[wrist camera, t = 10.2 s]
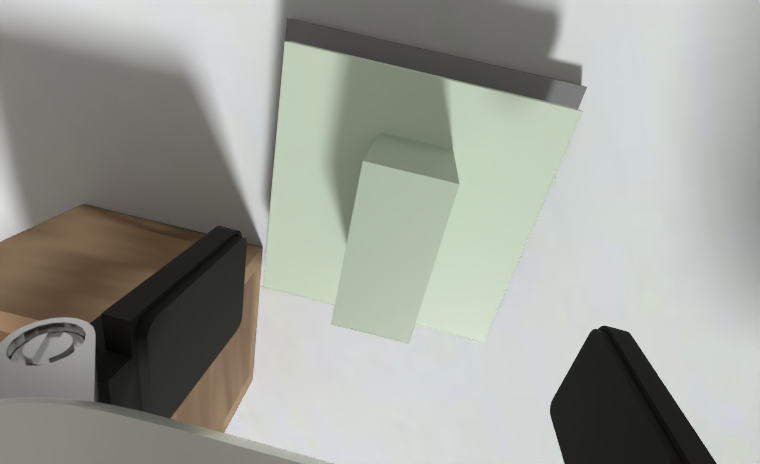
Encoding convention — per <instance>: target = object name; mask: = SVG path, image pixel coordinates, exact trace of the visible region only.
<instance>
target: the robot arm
mask: <svg viewBox="0 0 760 464" xmlns="http://www.w3.org/2000/svg"><path fill="white" fill-rule="evenodd" d="M246 251H247V240H246V238H243V237H242V235H241V232H240V231H237V230H233V229H230V228H226V227H222V226H217V227H216V228H214V229H213V230H212V231H210V232H209V233H208V234H206V235H205V236H204V237H202V238H201V239H200V240H198V241H197V242H196V243H194V244H193V245H192V246H190V247H189V248H188V249H186V250H185V251H184V252H182V253H181V254H180V255H178V256H177V257H176V258H174V259H173V260H172V261H170V262H169V263H168V264H166V265H165V266H164V267H162V268H161V269H160V270H158V271H157V272H156V273H154V274H153V275H152V276H150V277H149V278H148V279H146V280H145V281H144V282H142V283H141V284H140V285H138V286H137V287H136V288H134V289H133V290H132V291H130V292H129V293H128V294H126V295H125V296H124V297H122V298H121V299H120V300H118V301H117V302H116V303H114V304H113V305H112V306H110V307H109V308H108V309H106V310H105V311H104V312H102V313H101V315H100V316H99V317H97V318H96V319H95V320H93V321H92V322H91V323H88V322H86V321H84V320H81V319H78V318H68V317H62V318H50V319H46V320H42V321H37V322H34V323H32V324H29V325H26V326H24V327H21V328H20V329H18V330H16V331H14V332H13V333H11V334H9V335H8V336H7V337H6V338H5V339H4V340H3V341H1V342H0V464H333V463H329V462H326V461H322V460H319V459H315V458H312V457H308V456H304V455H301V454H297V453H294V452H290V451H287V450H283V449H280V448H276V447H272V446H269V445H265V444H262V443H258V442H255V441H251V440H247V439H244V438H240V437H237V436H233V435H230V434H226V433H222V432H219V431H215V430H212V429H208V428H204V427H200V426H196V425H192V424H189V423H185V422H181V421H177V420H173V419H170V418H171V417H172V416H173V414H174V413H175V412H176V411H177V409H178V408H179V407H180V405H181V404H182V403H183V401H184V400H185V399H186V397H187V396H188V395H189V393H190V392H191V391H192V389H193V388H194V387H195V385H196V384H197V383H198V381H199V380H200V379H201V377H202V376H203V375H204V374H205V372H206V371H207V370H208V368H209V367H210V366H211V364H212V363H213V362H214V360H215V359H216V358H217V356H218V355H219V354H220V352H221V351H222V350H223V348H224V347H225V346H226V344H227V343H228V342H229V340H230V339H231V338H232V337H233V335H234V334H235V333H236V331H237V330H238V328H239V326H240V324H241V321H242V314H243V298H244V282H245V266H246ZM550 415H551V419H552V422H553V425H554V429H555V432H556V436H557V439H558V443H559V446H560V449H561V453H562V456H563V460H564V463H565V464H716V462H715V461H714V459H713V458H712V456H711V455H710V453H709V452H708V450H707V448H706V447H705V445H704V444H703V442H702V441H701V439H700V438H699V436H698V435H697V433H696V432H695V430H694V429H693V427H692V426H691V424H690V423H689V421H688V420H687V418H686V417H685V415H684V414H683V412H682V411H681V409H680V408H679V406H678V405H677V403H676V402H675V400H674V399H673V397H672V396H671V394H670V393H669V391H668V390H667V388H666V387H665V385H664V384H663V382H662V381H661V379H660V378H659V376H658V375H657V373H656V372H655V370H654V369H653V367H652V366H651V364H650V363H649V361H648V360H647V358H646V357H645V355H644V354H643V352H642V351H641V349H640V348H639V346H638V345H637V343H636V342H635V340H634V339H633V337H632V336H631V334H630V333H629V332H627V331H623V330H620V329H616V328H612V327H608V326H601V327H600V328H599V329H598V330H597V329H594V330H592V331H591V332H590V334H589V336H588V337H587V339H586V341H585V343H584V345H583V346H582V348H581V350H580V352H579V353H578V355H577V357H576V359H575V361H574V362H573V364H572V366H571V368H570V369H569V371H568V373H567V375H566V377H565V378H564V380H563V382H562V384H561V386H560V387H559V389H558V391H557V393H556V394H555V396H554V398H553V400H552V402H551V406H550Z"/></svg>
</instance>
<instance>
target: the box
mask: <svg viewBox="0 0 760 464" xmlns="http://www.w3.org/2000/svg"><path fill="white" fill-rule="evenodd" d="M205 235H206V234H204V233H200V232H196V231H192V230H188V229H184V228H180V227H175V226H171V225H167V224H163V223H159V222H155V221H150V220H146V219H142V218H138V217H134V216H130V215H126V214H121V213H117V212H113V211H109V210H105V209H101V208H97V207H92V206H88V205H84V204H82V205H80V206H78V207H76V208H73V209H71V210H69V211H67V212H65V213H63V214H60V215H58V216H56V217H54V218H52V219H49V220H47V221H45V222H43V223H41V224H38V225H36V226H34V227H32V228H30V229H28V230H25V231H23V232H21V233H19V234H17V235H14V236H12V237H10V238H8V239H6V240H3V241H1V242H0V342H1V341H3V340H4V339H5V338H6V337H7V336H8V335H9V334H11V333H13V332H14V331H16V330H18V329H20V328H21V327H24V326H26V325H29V324H32V323H34V322H37V321H42V320H46V319H50V318H62V317H68V318H78V319H81V320H84V321H86V322H88V323H91V322H92V321H93V320H95V319H96V318H97V317H99V316H100V315H101V313H102V312H104V311H105V310H106V309H108V308H109V307H110V306H112V305H113V304H114V303H116V302H117V301H118V300H120V299H121V298H122V297H124V296H125V295H126V294H128V293H129V292H130V291H132V290H133V289H134V288H136V287H137V286H138V285H140V284H141V283H142V282H144V281H145V280H146V279H148V278H149V277H150V276H152V275H153V274H154V273H156V272H157V271H158V270H160V269H161V268H162V267H164V266H165V265H166V264H168V263H169V262H170V261H172V260H173V259H174V258H176V257H177V256H178V255H180V254H181V253H182V252H184V251H185V250H186V249H188V248H189V247H190V246H192V245H193V244H194V243H196V242H197V241H198V240H200V239H201V238H202V237H204V236H205ZM262 249H263V247H258V246H254V245H250V244H247V251H246V266H245V282H244V298H243V314H242V321H241V324H240V326H239V328H238V330H237V331H236V333H235V334H234V335H233V337H232V338H231V339H230V340H229V342H228V343H227V344H226V346H225V347H224V348H223V350H222V351H221V352H220V354H219V355H218V356H217V358H216V359H215V360H214V362H213V363H212V364H211V366H210V367H209V368H208V370H207V371H206V372H205V374H204V375H203V376H202V377H201V379H200V380H199V381H198V383H197V384H196V385H195V387H194V388H193V389H192V391H191V392H190V393H189V395H188V396H187V397H186V399H185V400H184V401H183V403H182V404H181V405H180V407H179V408H178V409H177V411H176V412H175V413H174V414H173V416H172V417H171V418H170V419H173V420H177V421H181V422H185V423H189V424H192V425H196V426H200V427H204V428H208V429H212V430H215V431H219V432H222V433H224V432H225V430H226V428H227V426H228V424H229V423H230V421H231V419H232V417H233V415H234V413H235V411H236V410H237V408H238V406H239V404H240V402H241V400H242V398H243V397H244V395H245V393H246V391H247V389H248V387H249V385H250V383H251V382H252V379H253V366H254V353H255V340H256V327H257V314H258V301H259V288H260V275H261V262H262Z"/></svg>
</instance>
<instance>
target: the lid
mask: <svg viewBox="0 0 760 464" xmlns="http://www.w3.org/2000/svg"><path fill="white" fill-rule="evenodd" d="M582 113H583V111H580V110H578V109H576V108H572V107H568V106H564V105H559V104H555V103H551V102H547V101H542V100H538V99H534V98H530V97H525V96H521V95H517V94H513V93H509V92H504V91H500V90H496V89H492V88H487V87H483V86H479V85H475V84H470V83H466V82H462V81H458V80H453V79H449V78H445V77H441V76H437V75H432V74H428V73H424V72H420V71H415V70H411V69H407V68H403V67H398V66H394V65H390V64H386V63H381V62H377V61H373V60H369V59H365V58H360V57H356V56H352V55H348V54H343V53H339V52H335V51H331V50H326V49H322V48H318V47H314V46H309V45H305V44H301V43H297V42H293V41H285V44H284V55H283V66H282V78H281V89H280V100H279V112H278V123H277V134H276V145H275V157H274V168H273V179H272V191H271V202H270V213H269V225H268V236H267V247H266V258H265V270H264V281H263V287H264V288H268V289H272V290H276V291H280V292H284V293H288V294H292V295H296V296H300V297H304V298H308V299H312V300H316V301H320V302H324V303H328V304H332V305H335V306H334V312H333V317H332V322H331V324H332V325H336V326H340V327H344V328H348V329H352V330H356V331H360V332H364V333H368V334H372V335H376V336H380V337H384V338H388V339H392V340H396V341H400V342H404V343H408V344H409V342H410V339H411V336H412V332H413V329H414V326H415V325H417V326H421V327H425V328H429V329H433V330H437V331H441V332H445V333H449V334H453V335H457V336H461V337H465V338H469V339H473V340H478V341H482V342H484V340H485V338H486V335H487V333H488V331H489V328H490V326H491V324H492V321H493V319H494V317H495V314H496V312H497V310H498V307H499V305H500V303H501V301H502V298H503V296H504V294H505V291H506V289H507V287H508V284H509V282H510V280H511V277H512V275H513V273H514V270H515V268H516V266H517V263H518V261H519V259H520V257H521V254H522V252H523V250H524V247H525V245H526V243H527V240H528V238H529V236H530V233H531V231H532V229H533V226H534V224H535V222H536V219H537V217H538V215H539V213H540V210H541V208H542V206H543V203H544V201H545V199H546V196H547V194H548V192H549V189H550V187H551V185H552V182H553V180H554V178H555V175H556V173H557V171H558V168H559V166H560V164H561V162H562V159H563V157H564V155H565V152H566V150H567V148H568V145H569V143H570V141H571V138H572V136H573V134H574V131H575V129H576V127H577V124H578V122H579V120H580V118H581V115H582Z"/></svg>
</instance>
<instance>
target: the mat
mask: <svg viewBox="0 0 760 464" xmlns="http://www.w3.org/2000/svg"><path fill="white" fill-rule="evenodd" d="M285 41H293V42H297V43H301V44H305V45H309V46H314V47H318V48H322V49H326V50H331V51H335V52H339V53H343V54H348V55H352V56H356V57H360V58H365V59H369V60H373V61H377V62H381V63H386V64H390V65H394V66H398V67H403V68H407V69H411V70H415V71H420V72H424V73H428V74H432V75H437V76H441V77H445V78H449V79H453V80H458V81H462V82H466V83H470V84H475V85H479V86H483V87H487V88H492V89H496V90H500V91H504V92H509V93H513V94H517V95H521V96H525V97H530V98H534V99H538V100H542V101H547V102H551V103H555V104H559V105H564V106H568V107H572V108H576V109H578V107H579V105H580V103H581V100H582V98H583V95H584V93H585V91H586V88H587V87H585V86H582V85H577V84H573V83H569V82H564V81H560V80H555V79H551V78H547V77H542V76H538V75H534V74H529V73H525V72H520V71H516V70H512V69H507V68H503V67H499V66H494V65H490V64H485V63H481V62H477V61H472V60H468V59H463V58H459V57H455V56H450V55H446V54H442V53H437V52H433V51H428V50H424V49H420V48H415V47H411V46H407V45H402V44H398V43H393V42H389V41H385V40H380V39H376V38H372V37H367V36H363V35H358V34H354V33H350V32H345V31H341V30H337V29H332V28H328V27H323V26H319V25H315V24H310V23H306V22H302V21H297V20H293V19H287V28H286V40H285Z"/></svg>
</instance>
